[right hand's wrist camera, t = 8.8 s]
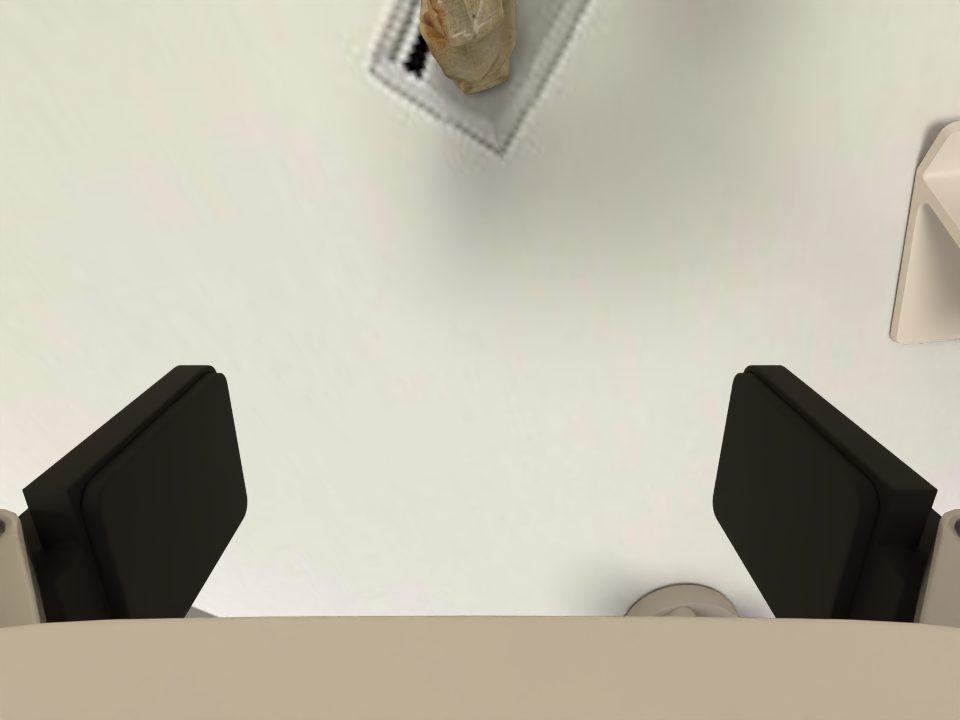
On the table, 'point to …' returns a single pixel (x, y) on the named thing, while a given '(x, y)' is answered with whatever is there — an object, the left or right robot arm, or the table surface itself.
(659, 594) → the bust sculpture
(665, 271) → the table surface
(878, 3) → the table surface
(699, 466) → the table surface
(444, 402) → the table surface
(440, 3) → the sculpture
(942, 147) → the tablet stand
